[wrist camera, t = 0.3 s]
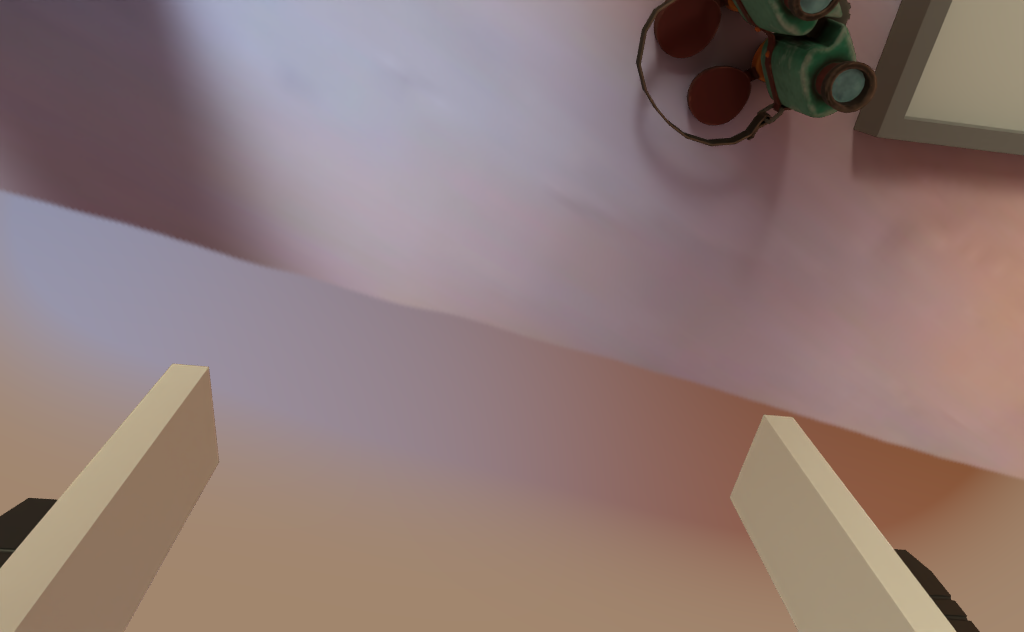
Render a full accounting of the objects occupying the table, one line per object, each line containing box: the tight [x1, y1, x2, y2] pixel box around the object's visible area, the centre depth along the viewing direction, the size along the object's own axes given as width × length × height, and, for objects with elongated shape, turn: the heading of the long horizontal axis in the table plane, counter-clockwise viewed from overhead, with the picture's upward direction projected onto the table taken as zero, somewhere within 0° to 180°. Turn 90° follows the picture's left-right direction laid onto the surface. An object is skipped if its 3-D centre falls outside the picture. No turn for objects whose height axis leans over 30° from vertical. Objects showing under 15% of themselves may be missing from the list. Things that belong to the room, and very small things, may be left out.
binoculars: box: [636, 0, 877, 146], centre depth 31 cm, size 9×11×10 cm
